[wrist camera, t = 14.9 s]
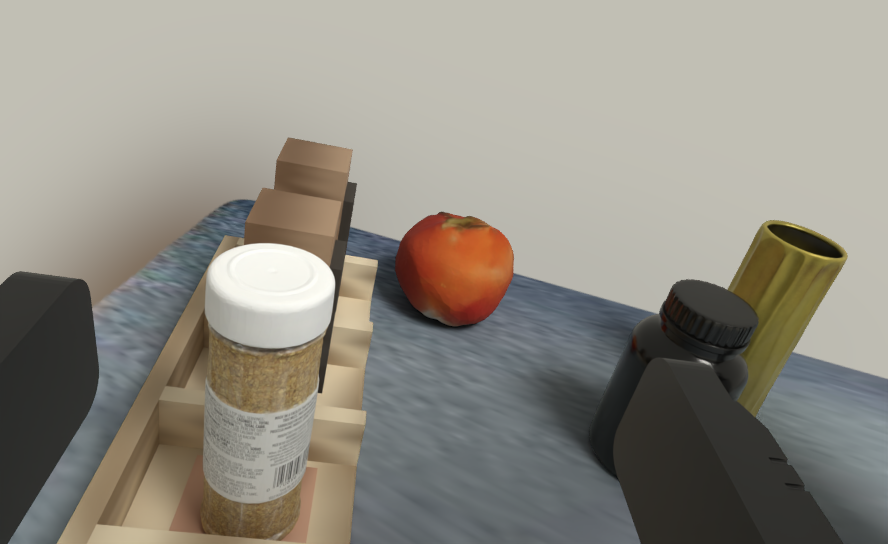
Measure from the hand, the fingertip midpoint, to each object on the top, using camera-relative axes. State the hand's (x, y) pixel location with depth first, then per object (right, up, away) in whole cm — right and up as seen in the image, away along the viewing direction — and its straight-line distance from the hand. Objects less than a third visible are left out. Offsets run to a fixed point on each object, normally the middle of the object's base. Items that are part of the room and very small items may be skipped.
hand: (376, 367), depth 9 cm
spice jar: (-8, -10, +20) cm, 24 cm away
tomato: (+1, -2, +41) cm, 41 cm away
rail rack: (-9, -7, +27) cm, 30 cm away
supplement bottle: (+13, -10, +31) cm, 35 cm away
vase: (+21, -9, +37) cm, 44 cm away
